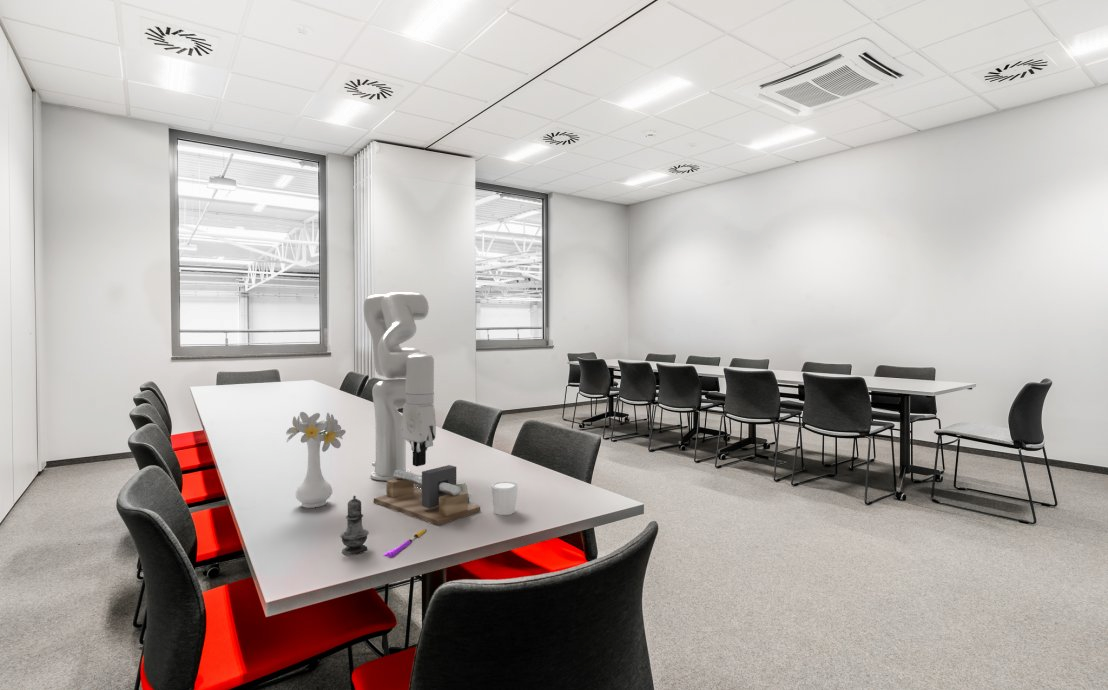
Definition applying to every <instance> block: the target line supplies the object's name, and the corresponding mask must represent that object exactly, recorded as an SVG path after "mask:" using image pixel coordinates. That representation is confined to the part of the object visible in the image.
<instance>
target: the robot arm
mask: <svg viewBox="0 0 1108 690" xmlns="http://www.w3.org/2000/svg"><path fill="white" fill-rule="evenodd" d="M429 306H430V305H429V303H428V300H427V298H426V296H425V295H424V294H423V293H420V292H419V293H417V292H400V291H399V292H397V291H395V292H394V291H393V292H389V293H386V294H383V293H382V294H372V295H369V296H367V297H366V298H365V299H364V302H363V316H364V320H365V323H366V326H367V329H368V331H369V334H370V337H371V340H372V351H373V352H372V353H373V363H374V369H375V372H376V373H377V375H378V376H380V377H385V378H387V379H383V380H379V381H377V382H376V383H375V384H374V385H373V386H372V393H371V395H372V402H373V407H374V419H375V424H374V425H375V426H374V427H375V460H374V461H372V463H371V466H372V467H374V470H373V471H372V472H371V473H370V478H371V479H372V480H375V481H386V482H387V481H388V480H392V479H396V478H395V477H394V472H395V471H396V470H402V471H406V472H409V473H412V471H411V470H410V469H409V468H407V455H406V454H407V443H409V444H410V447H411V449H410V450H411V451H412V466H415V467H421V466H425V465H426V463H427V462H426V461H427V460H426V459H427V458H426V457H427V452H426V451H427V450H428V448H430V447H433V446H434V442H433V441H434V440H435V439H436V435H437V421H436V412H435V410H436V409H435V402H434V401H435V399H434V398H435V397H434V396H435V395H434V393H435V391H434V387H435V386H434V384H435V383H434V381H435V359H434V357H433V356H432V355H431V354H429V353H427V352H425V351H420V350H419V349H418V348H416V347H401V346H400V344H403V343H406V342H408V341H409V340H410V339H412V338H414V336H415V335H416V333H417V324H416V321H420V320H421V321H423V320H424V319H426V318H427V317H428V315H429V309H430V307H429ZM399 409H402V413H400V412H399Z"/></svg>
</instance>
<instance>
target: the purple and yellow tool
mask: <svg viewBox="0 0 1108 690" xmlns="http://www.w3.org/2000/svg"><path fill="white" fill-rule="evenodd" d="M426 532H427V529H422V530H420V531H418V532H416V533H415V534H414V535H413V538H412V539H408V540H405V542H403V543H402V544H400V545H399V546H398V547H396V548H392V549H391V550H389V551H386V552H385V553H383V554H382V556H383V555H385V556H384V557H388V558H389V557H391V558H393V557H395V556H396V555H398V554H399V551H400V552H401V551H402V550H403V548H404V549H405V548H406V547H407V545H408V546H409V545H410V544H411V543H412V542H413V540H414V539H416V538H418V537H419V538H420V537H421V536H423V534H425V533H426Z"/></svg>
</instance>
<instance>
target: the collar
mask: <svg viewBox="0 0 1108 690" xmlns="http://www.w3.org/2000/svg"><path fill="white" fill-rule="evenodd" d="M421 476H422V506H423V507H426V508H432V507H436V506H439V497H440V496H444V495H447V493H444V492H440V491H438V482H441V481H442V482H445V483H449V484H452V485H456V483H457V466H455V465H451V464H448V465H444V466H439V467H436V468H431V469H426V470H423V471H421Z"/></svg>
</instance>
